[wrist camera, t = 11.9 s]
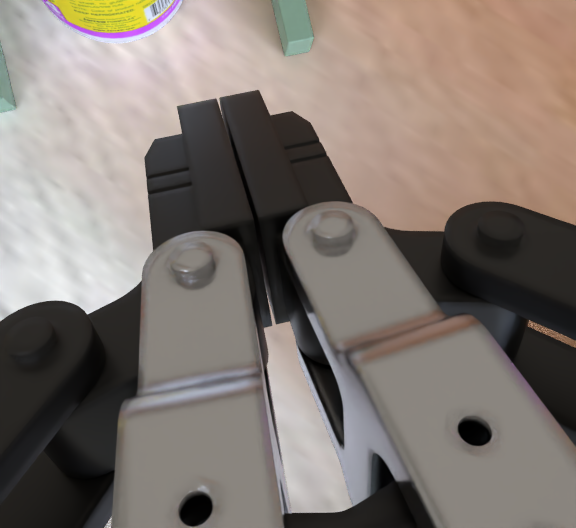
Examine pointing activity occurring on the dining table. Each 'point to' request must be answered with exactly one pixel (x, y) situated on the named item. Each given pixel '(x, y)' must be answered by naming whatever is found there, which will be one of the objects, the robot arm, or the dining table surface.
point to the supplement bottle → (114, 17)
